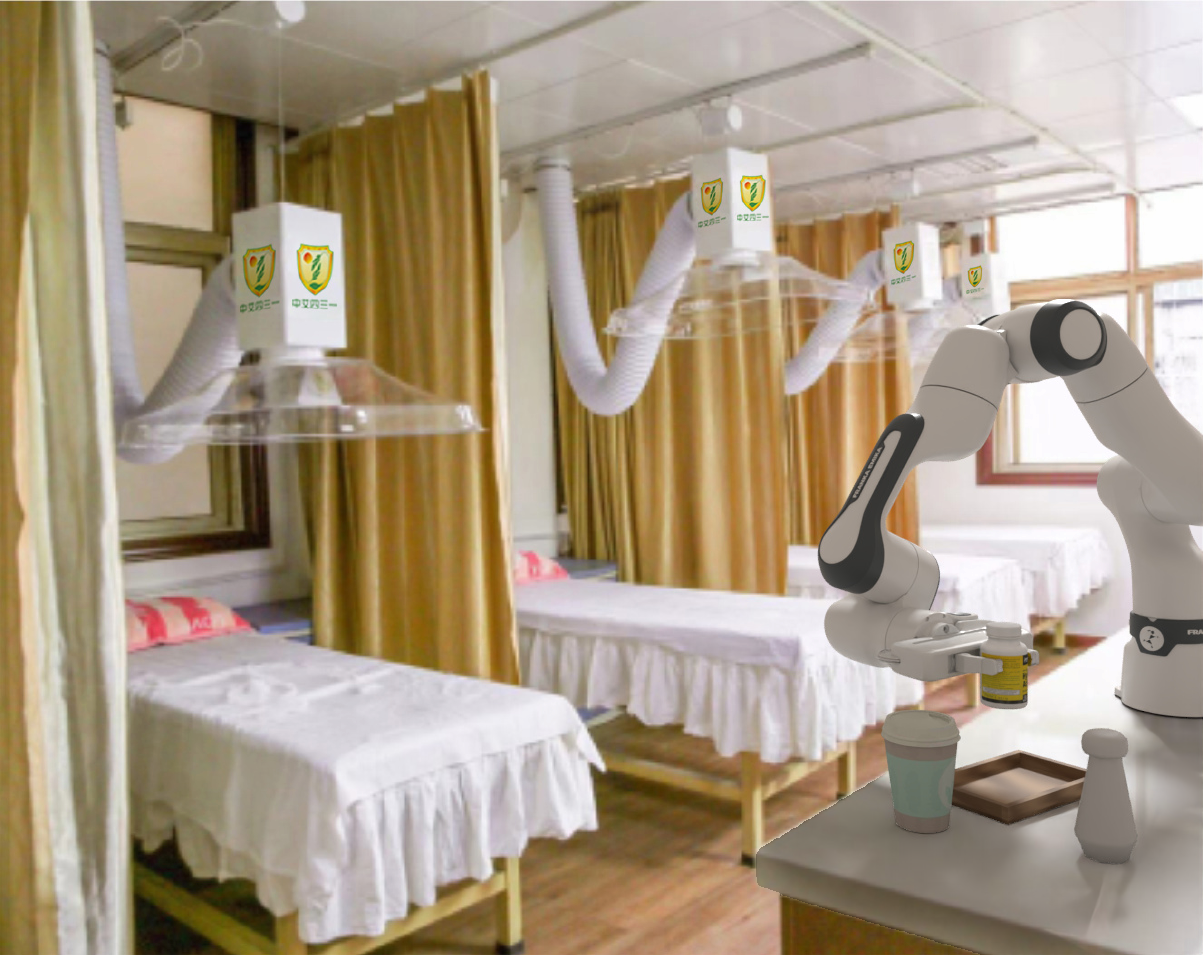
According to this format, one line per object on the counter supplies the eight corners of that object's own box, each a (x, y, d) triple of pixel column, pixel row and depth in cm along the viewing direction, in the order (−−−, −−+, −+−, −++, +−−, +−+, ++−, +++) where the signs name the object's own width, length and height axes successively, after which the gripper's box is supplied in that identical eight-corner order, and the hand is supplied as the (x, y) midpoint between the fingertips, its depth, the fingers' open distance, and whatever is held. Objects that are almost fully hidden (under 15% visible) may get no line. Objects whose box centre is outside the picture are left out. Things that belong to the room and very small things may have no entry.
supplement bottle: (1032, 711, 124) (1031, 628, 123) (983, 710, 125) (982, 628, 125) (1023, 699, 129) (1022, 620, 129) (977, 698, 130) (976, 620, 130)
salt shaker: (1111, 872, 104) (1110, 743, 104) (1062, 852, 109) (1060, 729, 109) (1149, 859, 107) (1148, 733, 106) (1100, 840, 112) (1098, 720, 111)
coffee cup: (951, 844, 112) (949, 733, 112) (873, 830, 117) (870, 724, 116) (970, 817, 120) (968, 713, 119) (895, 805, 124) (893, 704, 124)
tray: (1018, 764, 137) (1018, 749, 136) (1104, 790, 126) (1104, 774, 126) (923, 794, 127) (923, 778, 127) (1008, 825, 117) (1007, 807, 117)
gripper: (868, 631, 131) (958, 649, 120) (976, 610, 142) (1069, 626, 130) (869, 680, 132) (959, 704, 120) (977, 657, 142) (1069, 676, 131)
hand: (1017, 663), depth 125 cm, fingers closed on supplement bottle, 5 cm apart
